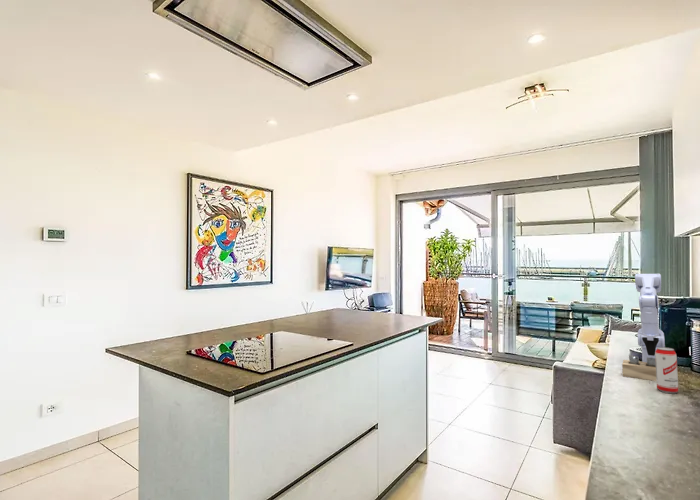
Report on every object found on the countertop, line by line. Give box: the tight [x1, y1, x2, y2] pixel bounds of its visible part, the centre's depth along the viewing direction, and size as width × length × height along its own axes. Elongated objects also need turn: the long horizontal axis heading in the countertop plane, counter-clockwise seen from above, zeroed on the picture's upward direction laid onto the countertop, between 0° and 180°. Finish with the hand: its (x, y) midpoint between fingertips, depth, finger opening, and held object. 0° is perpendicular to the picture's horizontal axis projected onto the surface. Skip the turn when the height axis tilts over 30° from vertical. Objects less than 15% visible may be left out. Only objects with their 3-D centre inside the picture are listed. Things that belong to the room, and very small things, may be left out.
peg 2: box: [647, 357, 656, 367], centre depth 160 cm, size 3×3×5 cm
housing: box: [621, 359, 657, 382], centre depth 163 cm, size 11×13×5 cm
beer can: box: [655, 346, 679, 394], centre depth 143 cm, size 6×6×16 cm
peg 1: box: [628, 355, 640, 365], centre depth 164 cm, size 3×3×5 cm
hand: (651, 355), depth 161 cm, fingers closed
